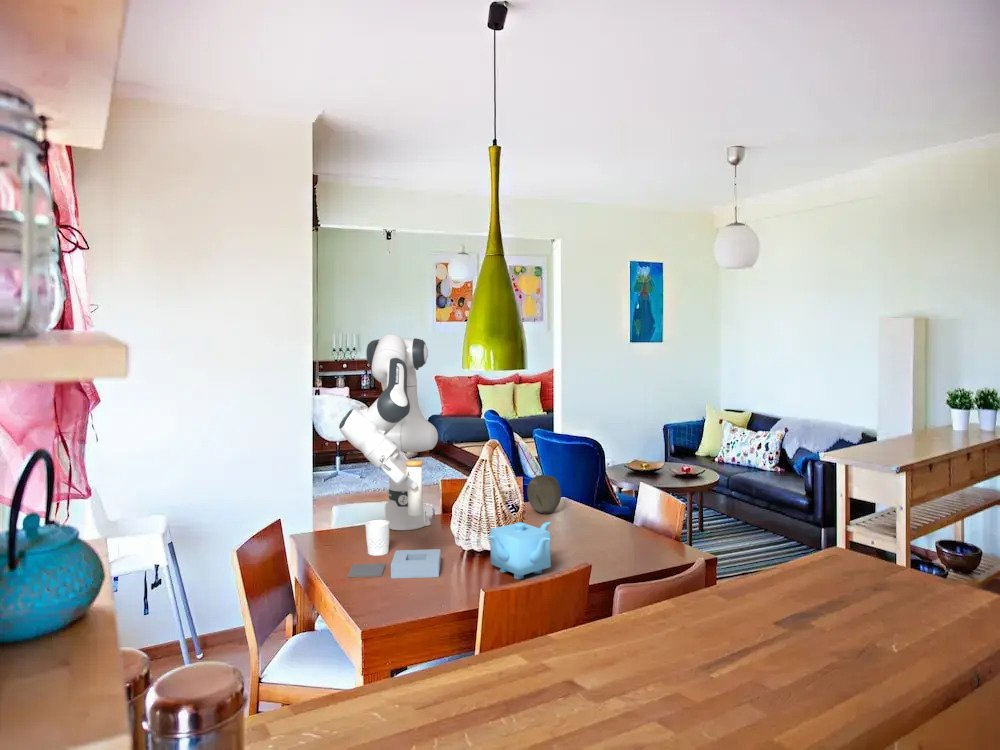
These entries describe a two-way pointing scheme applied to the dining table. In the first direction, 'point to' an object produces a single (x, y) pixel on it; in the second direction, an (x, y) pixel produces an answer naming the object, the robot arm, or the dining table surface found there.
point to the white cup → (377, 537)
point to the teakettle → (520, 548)
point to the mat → (367, 570)
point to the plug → (415, 494)
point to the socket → (416, 563)
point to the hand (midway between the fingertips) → (416, 484)
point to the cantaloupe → (544, 493)
